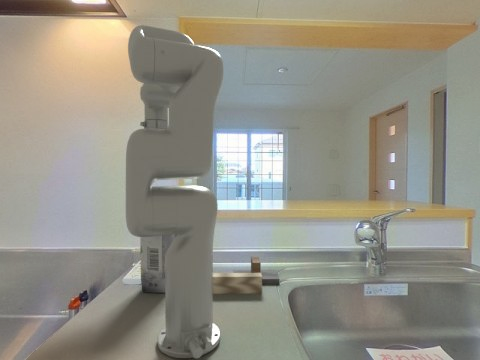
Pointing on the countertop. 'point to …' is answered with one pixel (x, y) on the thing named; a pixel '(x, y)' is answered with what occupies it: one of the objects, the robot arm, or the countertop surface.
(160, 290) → the juice carton
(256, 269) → the grey slab with post
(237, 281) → the beech bar
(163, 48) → the robot arm
